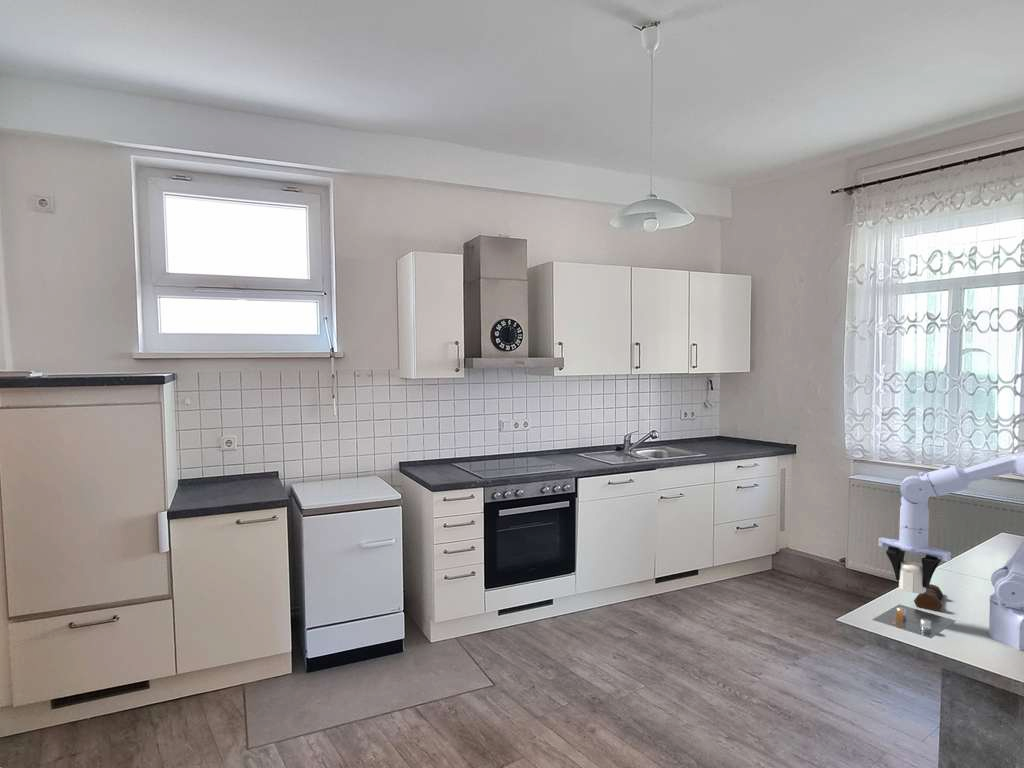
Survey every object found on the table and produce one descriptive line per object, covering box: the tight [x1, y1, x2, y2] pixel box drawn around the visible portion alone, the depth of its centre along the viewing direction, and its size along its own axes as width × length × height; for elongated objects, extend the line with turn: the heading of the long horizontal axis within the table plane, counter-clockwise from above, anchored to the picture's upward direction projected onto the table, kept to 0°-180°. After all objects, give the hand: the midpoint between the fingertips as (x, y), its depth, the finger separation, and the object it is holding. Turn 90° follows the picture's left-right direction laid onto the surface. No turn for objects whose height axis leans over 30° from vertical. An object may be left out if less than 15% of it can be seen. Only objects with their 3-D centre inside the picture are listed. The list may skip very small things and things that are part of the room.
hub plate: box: [871, 603, 957, 639], centre depth 139 cm, size 16×12×4 cm
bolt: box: [913, 583, 945, 613], centre depth 151 cm, size 6×5×15 cm
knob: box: [898, 560, 926, 594], centre depth 140 cm, size 5×5×6 cm
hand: (912, 583), depth 140 cm, fingers closed on knob, 5 cm apart
